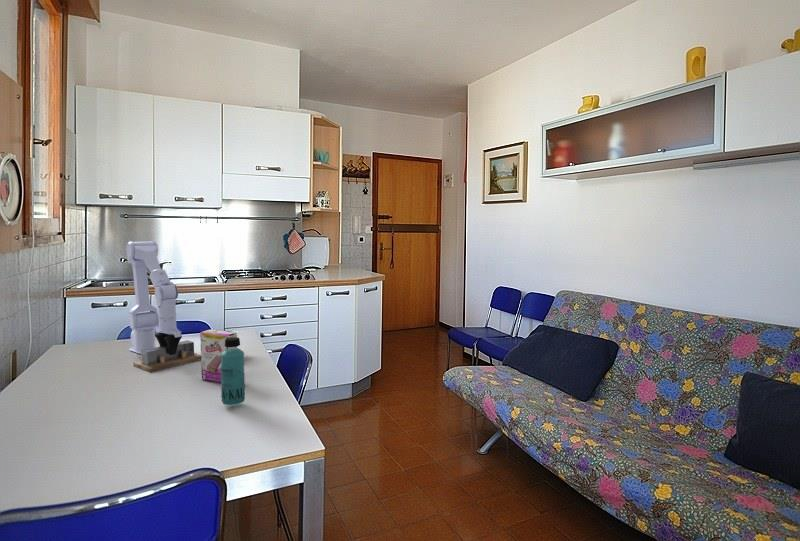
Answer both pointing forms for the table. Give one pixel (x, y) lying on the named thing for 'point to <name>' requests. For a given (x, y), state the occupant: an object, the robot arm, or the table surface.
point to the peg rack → (167, 362)
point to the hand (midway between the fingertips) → (168, 353)
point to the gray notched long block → (166, 353)
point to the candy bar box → (213, 353)
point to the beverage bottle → (232, 373)
